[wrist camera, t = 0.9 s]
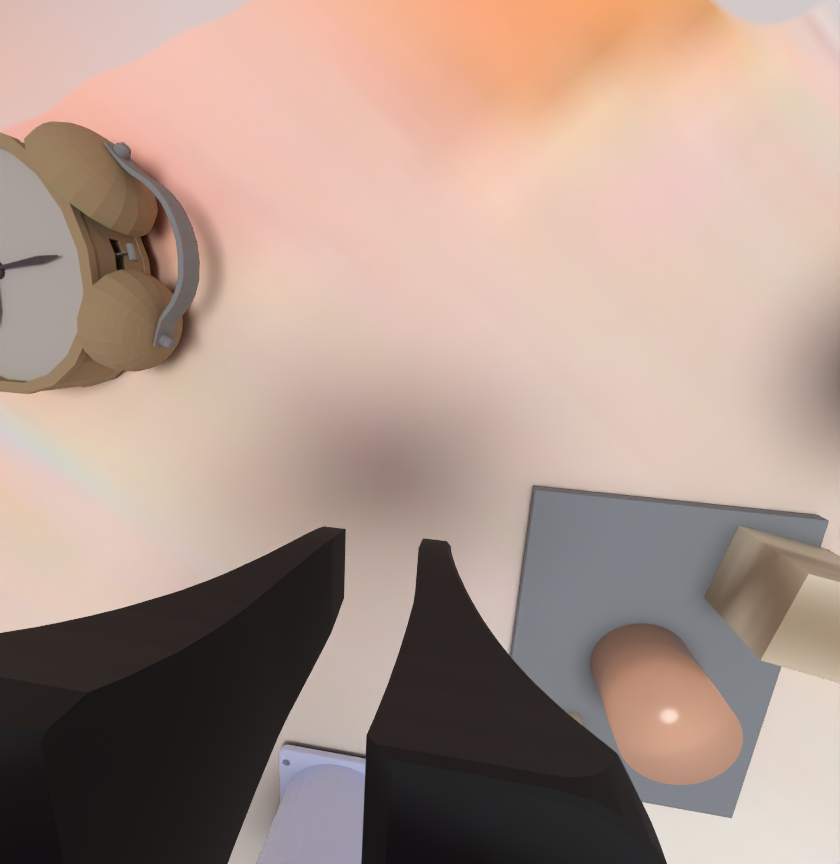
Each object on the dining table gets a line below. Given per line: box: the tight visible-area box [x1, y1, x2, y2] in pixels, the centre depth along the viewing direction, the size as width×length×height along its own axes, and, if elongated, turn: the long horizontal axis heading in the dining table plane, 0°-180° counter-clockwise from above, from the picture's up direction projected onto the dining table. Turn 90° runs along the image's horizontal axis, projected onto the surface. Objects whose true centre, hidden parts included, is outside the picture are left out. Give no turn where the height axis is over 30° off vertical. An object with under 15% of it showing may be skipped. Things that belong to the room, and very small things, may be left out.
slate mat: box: [510, 486, 829, 818], centre depth 21 cm, size 18×13×1 cm
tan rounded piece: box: [590, 623, 743, 785], centre depth 19 cm, size 5×5×4 cm
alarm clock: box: [0, 122, 200, 394], centre depth 19 cm, size 11×5×15 cm
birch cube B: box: [704, 525, 840, 683], centre depth 17 cm, size 4×4×4 cm
